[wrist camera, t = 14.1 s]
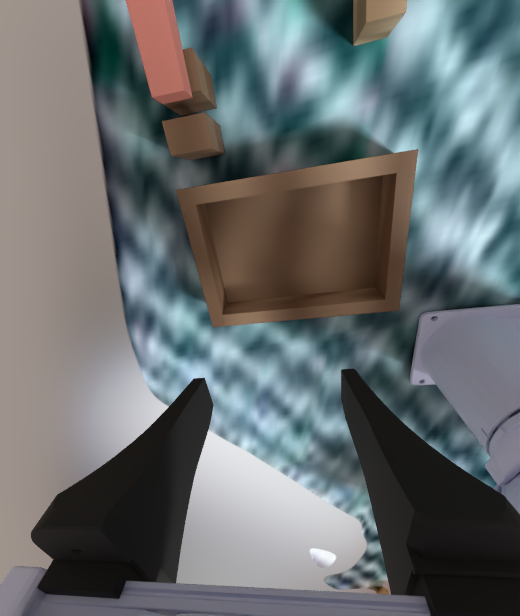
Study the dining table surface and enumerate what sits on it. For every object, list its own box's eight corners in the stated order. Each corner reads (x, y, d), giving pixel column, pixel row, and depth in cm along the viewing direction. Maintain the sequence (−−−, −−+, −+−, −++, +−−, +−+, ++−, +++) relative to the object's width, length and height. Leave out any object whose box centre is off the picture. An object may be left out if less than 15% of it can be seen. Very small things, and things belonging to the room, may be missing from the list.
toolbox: (406, 30, 14) (445, -15, 10) (383, 293, 21) (402, 314, 17) (165, 85, 15) (135, 61, 12) (221, 309, 23) (211, 331, 19)
